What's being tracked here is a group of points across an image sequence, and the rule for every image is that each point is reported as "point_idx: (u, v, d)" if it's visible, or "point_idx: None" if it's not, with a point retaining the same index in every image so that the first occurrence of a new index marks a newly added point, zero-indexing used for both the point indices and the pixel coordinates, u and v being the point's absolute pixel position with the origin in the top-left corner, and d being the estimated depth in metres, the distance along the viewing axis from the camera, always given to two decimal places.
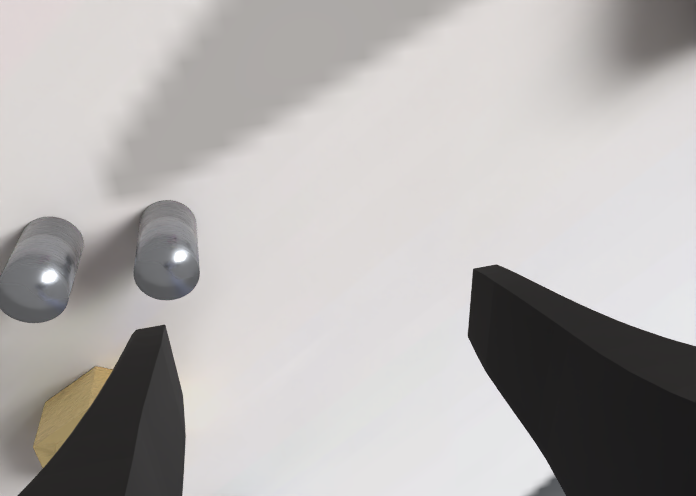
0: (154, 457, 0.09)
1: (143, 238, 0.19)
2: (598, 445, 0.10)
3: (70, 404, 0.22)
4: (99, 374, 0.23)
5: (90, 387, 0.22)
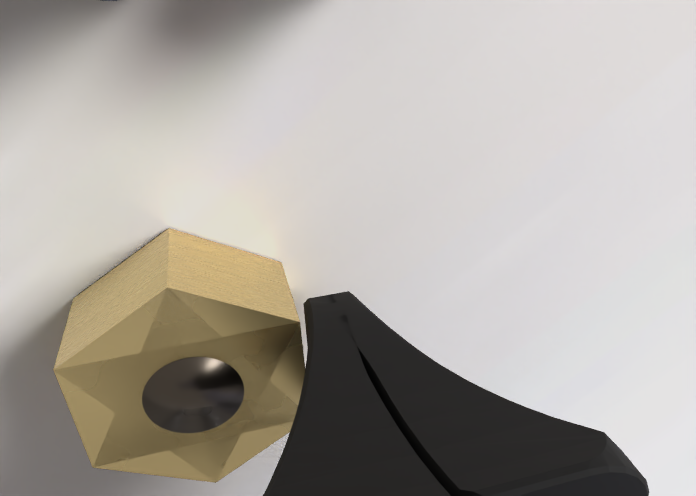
0: None
1: None
2: None
3: (125, 289, 0.11)
4: (175, 241, 0.12)
5: (164, 257, 0.11)
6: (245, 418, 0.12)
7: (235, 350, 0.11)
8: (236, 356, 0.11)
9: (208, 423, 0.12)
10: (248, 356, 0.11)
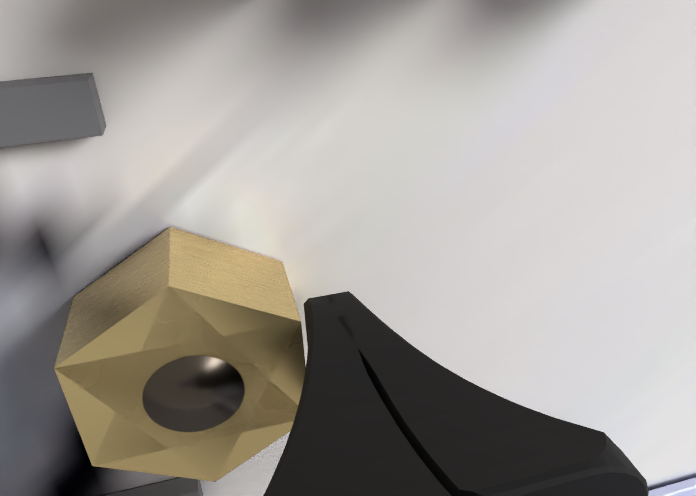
0: None
1: None
2: None
3: (126, 288, 0.11)
4: (177, 240, 0.12)
5: (165, 256, 0.11)
6: (245, 418, 0.12)
7: (236, 349, 0.11)
8: (237, 355, 0.11)
9: (208, 422, 0.12)
10: (249, 355, 0.11)
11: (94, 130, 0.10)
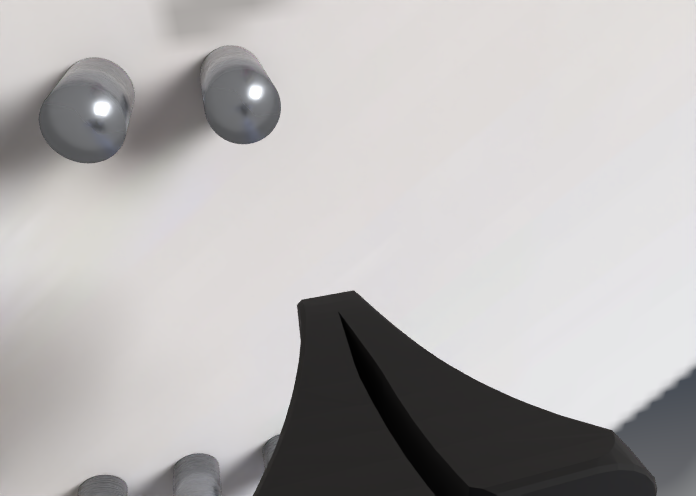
0: None
1: (212, 70, 0.16)
2: None
3: None
4: None
5: None
6: None
7: None
8: None
9: None
10: None
11: None
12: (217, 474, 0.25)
